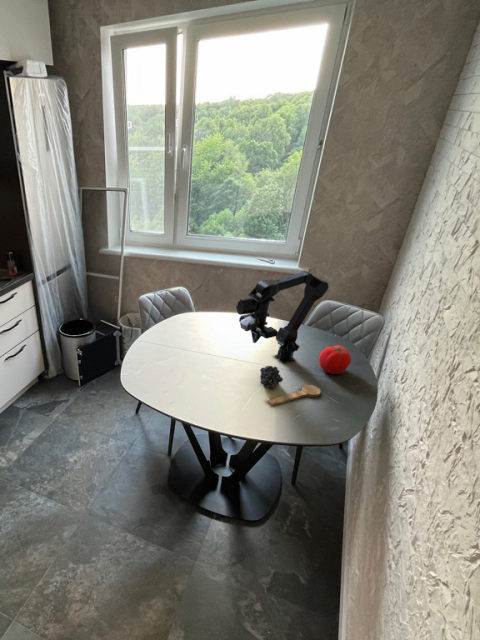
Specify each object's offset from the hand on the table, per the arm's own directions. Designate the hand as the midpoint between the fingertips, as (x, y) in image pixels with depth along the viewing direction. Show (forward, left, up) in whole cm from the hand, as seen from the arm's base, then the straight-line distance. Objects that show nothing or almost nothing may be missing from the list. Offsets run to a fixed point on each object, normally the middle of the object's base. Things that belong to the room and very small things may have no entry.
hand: (254, 342), depth 180 cm
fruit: (+2, +15, -12) cm, 19 cm away
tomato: (-30, +18, -12) cm, 37 cm away
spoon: (0, +28, -12) cm, 30 cm away
